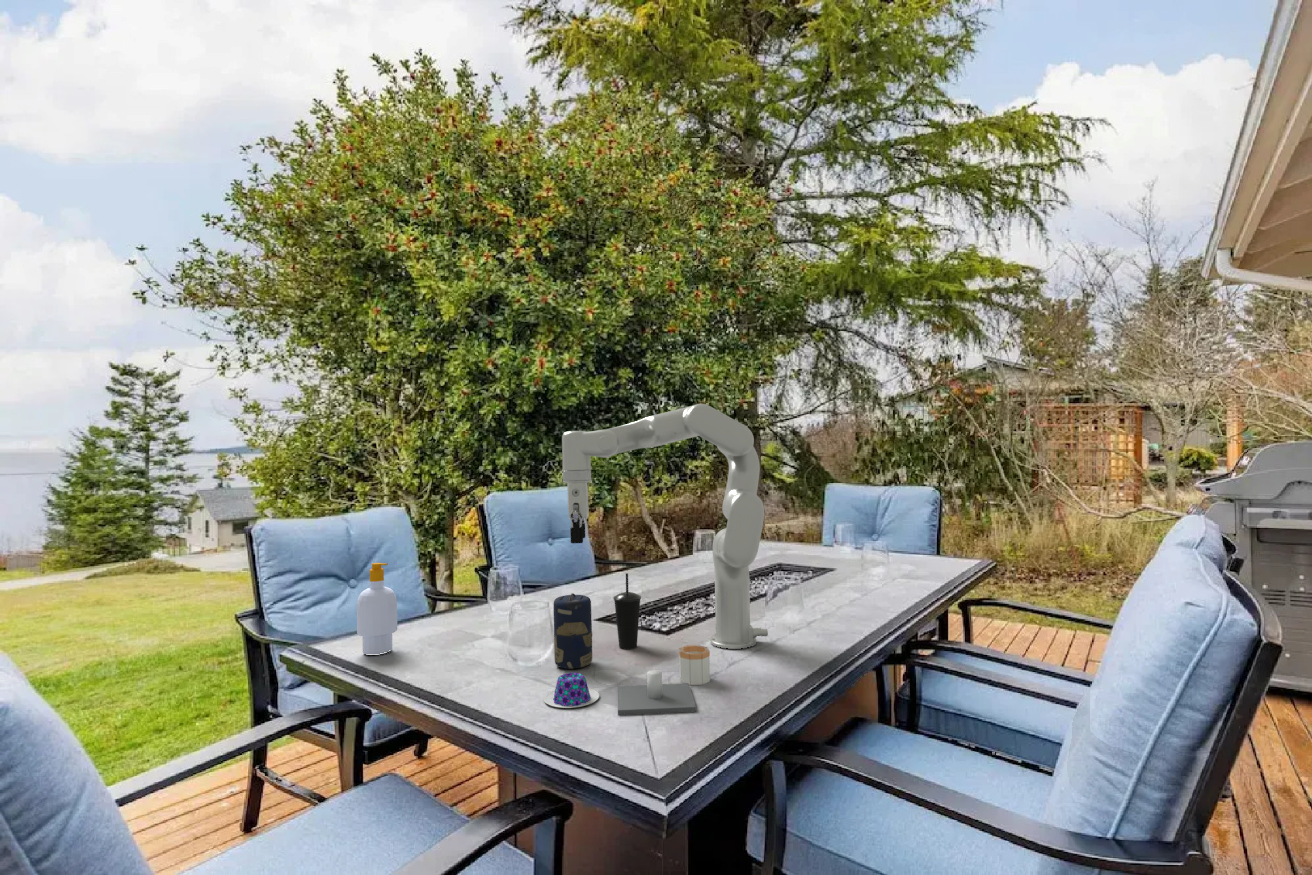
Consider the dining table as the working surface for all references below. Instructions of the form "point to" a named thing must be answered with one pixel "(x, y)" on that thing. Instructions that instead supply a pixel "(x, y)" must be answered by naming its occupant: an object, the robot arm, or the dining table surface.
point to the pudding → (571, 691)
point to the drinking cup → (627, 617)
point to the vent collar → (694, 664)
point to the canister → (572, 631)
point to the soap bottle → (377, 613)
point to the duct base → (654, 706)
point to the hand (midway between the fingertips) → (578, 540)
